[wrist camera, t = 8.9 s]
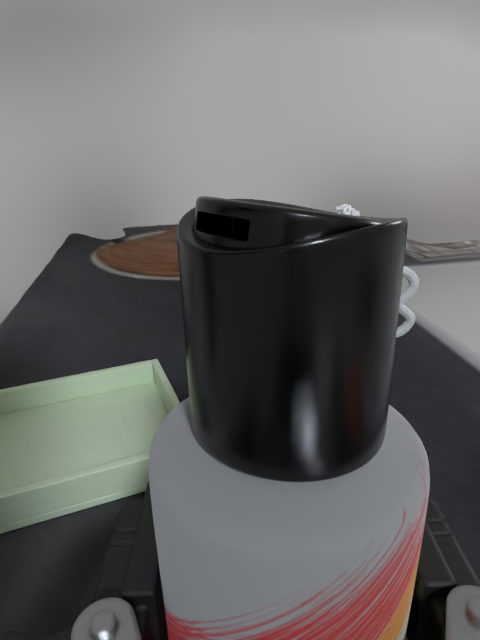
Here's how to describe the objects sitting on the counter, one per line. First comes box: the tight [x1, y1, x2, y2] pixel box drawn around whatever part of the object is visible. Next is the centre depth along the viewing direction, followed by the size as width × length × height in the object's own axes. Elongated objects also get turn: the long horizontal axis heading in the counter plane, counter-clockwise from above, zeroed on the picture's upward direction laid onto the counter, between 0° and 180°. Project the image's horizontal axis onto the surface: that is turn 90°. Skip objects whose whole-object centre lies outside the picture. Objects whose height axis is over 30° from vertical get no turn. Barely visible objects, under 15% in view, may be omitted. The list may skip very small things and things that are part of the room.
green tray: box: [0, 359, 180, 534], centre depth 33 cm, size 15×13×2 cm
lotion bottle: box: [149, 197, 430, 640], centre depth 11 cm, size 6×6×20 cm
